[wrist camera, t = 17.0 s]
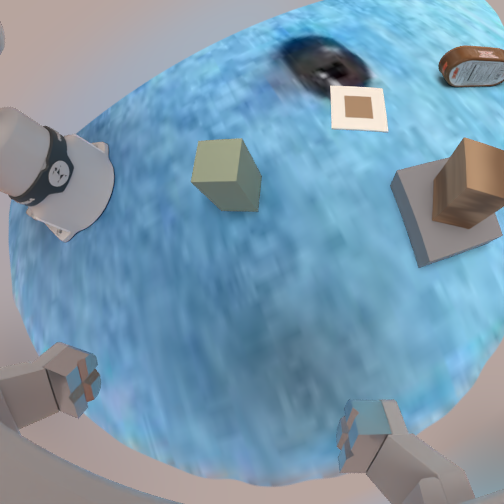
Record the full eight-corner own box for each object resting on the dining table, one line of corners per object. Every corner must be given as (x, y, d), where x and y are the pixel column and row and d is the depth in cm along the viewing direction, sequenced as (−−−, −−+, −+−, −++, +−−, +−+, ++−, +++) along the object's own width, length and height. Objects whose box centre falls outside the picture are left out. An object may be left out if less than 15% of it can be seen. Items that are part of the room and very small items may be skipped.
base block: (417, 268, 35) (429, 261, 30) (389, 187, 37) (396, 170, 32) (485, 244, 33) (502, 235, 28) (456, 169, 35) (468, 152, 31)
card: (331, 129, 40) (331, 127, 40) (330, 87, 41) (330, 85, 41) (387, 132, 38) (388, 131, 38) (382, 89, 39) (382, 88, 39)
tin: (496, 76, 35) (511, 46, 27) (505, 89, 34) (522, 60, 26) (432, 77, 38) (443, 42, 30) (441, 91, 37) (454, 56, 29)
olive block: (221, 210, 42) (190, 182, 32) (226, 176, 42) (198, 141, 33) (258, 211, 40) (236, 181, 31) (261, 176, 41) (242, 138, 32)
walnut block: (431, 220, 30) (466, 187, 21) (433, 180, 31) (463, 137, 22) (469, 229, 29) (511, 200, 20) (469, 189, 30) (506, 151, 20)
